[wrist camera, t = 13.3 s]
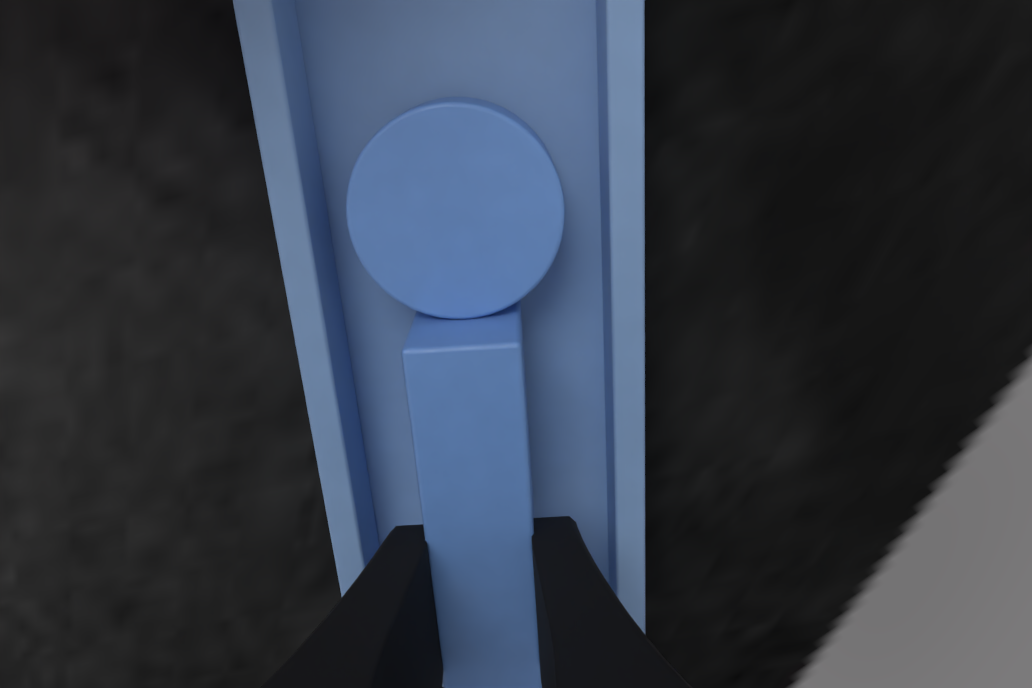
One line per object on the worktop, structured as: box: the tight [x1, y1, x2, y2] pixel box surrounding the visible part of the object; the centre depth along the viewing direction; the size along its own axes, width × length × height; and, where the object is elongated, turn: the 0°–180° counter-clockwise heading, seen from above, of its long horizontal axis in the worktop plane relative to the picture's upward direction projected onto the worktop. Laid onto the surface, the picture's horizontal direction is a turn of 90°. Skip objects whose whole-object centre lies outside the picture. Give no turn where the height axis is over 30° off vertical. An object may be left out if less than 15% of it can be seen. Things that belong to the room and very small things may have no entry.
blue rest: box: [233, 0, 645, 687], centre depth 12 cm, size 14×5×2 cm, turn 4°
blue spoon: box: [346, 97, 565, 688], centre depth 11 cm, size 9×3×2 cm, turn 4°
